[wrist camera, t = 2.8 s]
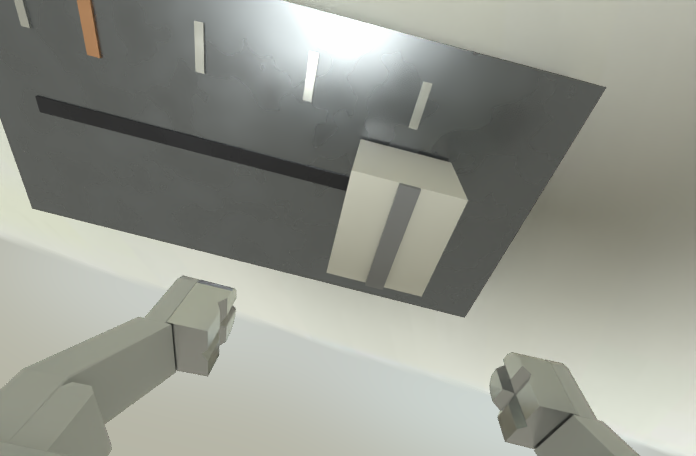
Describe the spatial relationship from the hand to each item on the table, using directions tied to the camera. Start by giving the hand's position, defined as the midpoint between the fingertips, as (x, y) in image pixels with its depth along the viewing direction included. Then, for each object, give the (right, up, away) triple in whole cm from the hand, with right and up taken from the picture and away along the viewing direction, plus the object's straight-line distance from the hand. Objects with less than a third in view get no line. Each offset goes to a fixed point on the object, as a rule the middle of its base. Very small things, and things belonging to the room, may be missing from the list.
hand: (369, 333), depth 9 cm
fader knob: (+2, +5, +7) cm, 9 cm away
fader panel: (-5, +8, +10) cm, 14 cm away
